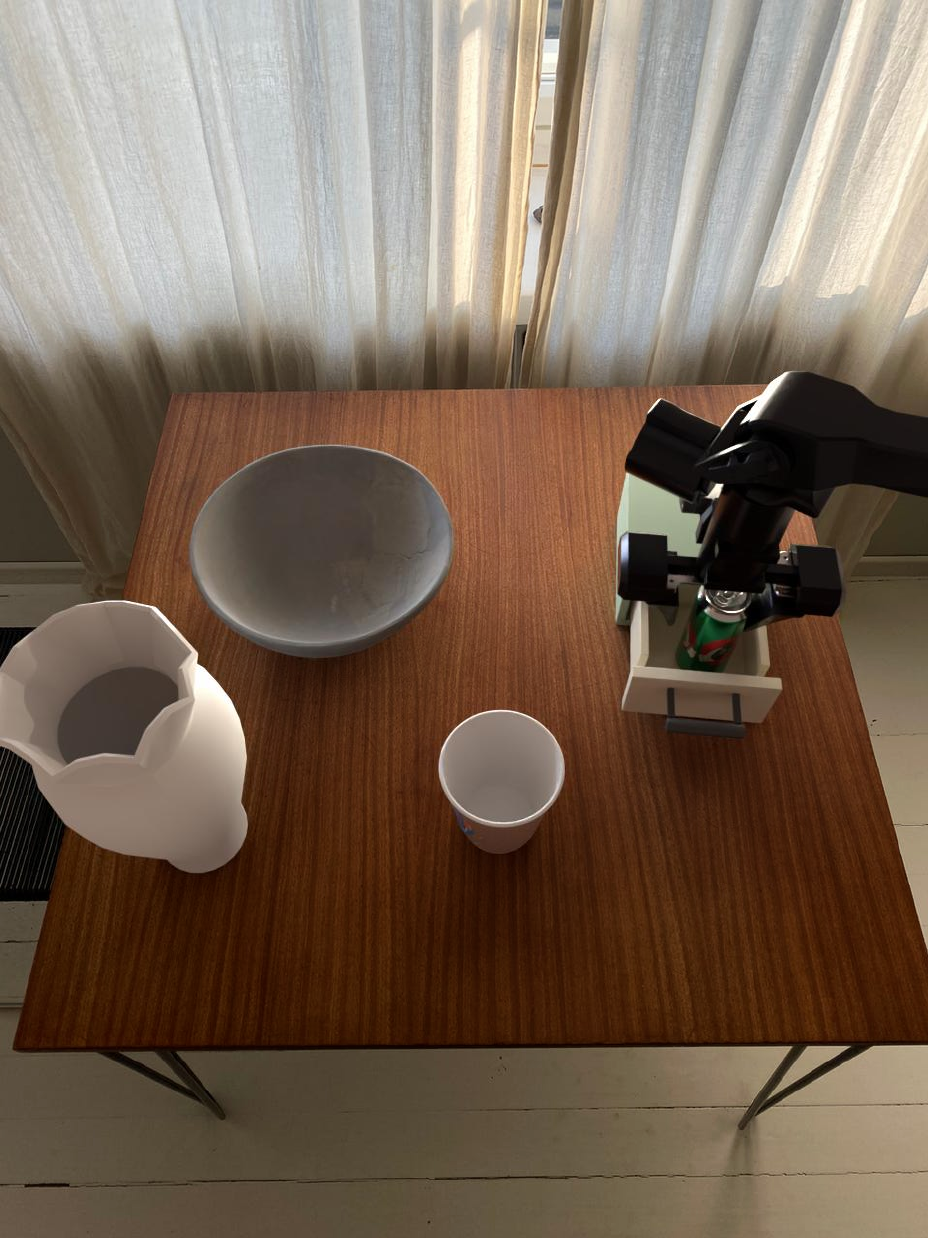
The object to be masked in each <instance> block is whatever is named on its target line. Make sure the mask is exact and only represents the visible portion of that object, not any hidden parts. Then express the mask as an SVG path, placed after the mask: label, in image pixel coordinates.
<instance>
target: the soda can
mask: <svg viewBox="0 0 928 1238" xmlns="http://www.w3.org/2000/svg"><path fill="white" fill-rule="evenodd" d="M753 608H754V601H753V595H752V593H743V592H730V591H718V590H705V589H704V586H701V587H700V588H699V590H698V593H697V595H696V598H695V601H694V603H693V606H692V609H691V611H690V614H689V617H688V620H687V622H686V625H685V628H684V630H683V633H682V636H681V638H680V641H679V644H678V646H677V649H676V653H675V658H676V662H677V664H678V666H679V668H680V669H681V670H688V671H700V672H712V673H723V671H724V670H725V668H726V666H727V663H728V661H729V659H730V657H731V655H732V653H733V651H734V649H735V647H736V645H737V643H738V640H739V638H740V636H741V634H742V632H743V630H744V628H745V626H746V624H747V622H748V620H749V617H750V615H751V613H752V611H753Z"/></svg>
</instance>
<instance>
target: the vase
mask: <svg viewBox="0 0 928 1238" xmlns="http://www.w3.org/2000/svg"><path fill="white" fill-rule="evenodd" d="M198 658H199V653H198V651H197V650H196V649H195V648H194V646H193V645H191V644H190V643H189V641H188V640H187V639H186V638H185V637H184V636H183V635H182V633H181V632H180V631H179V630H178V629H177V628H176V627H175V626H174V624H172V623H171V622H170V620H169V619H168V618H167V617H166V616H165V615H164V614H163V613H162V612H161V611H160V610H159V609H158V608H157V607H156V606H152V605H147V604H142V603H138V602H133V601H128V600H104V601H96V602H90V603H81V604H76V605H74V606H72V607H70V608H67V609H65V610H62V611H59V612H57V613H55V614H52V615H51V616H50V617H49V618H47V619H46V620H45V621H44V622H42V623H41V624H40V625H38V626H37V627H36V628H34V629H33V630H32V631H31V632H29V633H28V634H27V635H26V636H25V637H23V638H22V639H21V640H19V641H18V642H17V643H16V644H15V645H13V646H12V648H11V649H10V651H9V653H8V655H7V656H6V657H5V659H4V661H3V663H2V664H1V666H0V747H2V748H5V749H7V750H9V751H11V752H13V753H14V754H16V755H17V756H18V757H20V758H22V759H23V760H24V761H26V762H27V763H28V764H30V765H31V768H32V771H33V775H34V778H35V781H36V784H37V785H36V786H37V788H38V789H39V791H40V792H41V793H42V795H43V796H44V798H45V799H46V800H47V802H48V803H49V804H50V806H51V807H52V809H53V810H54V812H56V814H57V816H58V817H59V818H60V820H61V821H62V822H63V824H64V825H65V826H66V827H67V828H70V829H71V830H72V831H74V832H75V833H77V834H78V835H80V836H81V837H82V838H83V839H85V840H88V841H89V842H91V843H93V844H94V845H96V846H98V847H100V848H102V849H105V850H108V851H111V852H114V853H115V852H116V853H118V854H122V855H125V856H133V857H140V858H141V857H142V858H148V859H149V858H150V859H156V860H157V859H158V860H167V862H169V864H170V865H172V866H173V867H175V868H176V869H178V870H180V871H182V872H186V873H190V874H204V873H208V872H211V871H215V870H217V869H218V868H221V867H223V866H225V865H226V864H227V863H228V862H229V861H231V860H232V859H234V858H235V856H236V855H237V853H238V852H239V851H240V850H241V848H242V847H243V844H244V842H245V839H246V838H247V833H248V826H249V822H248V815H247V812H246V810H245V808H244V805H243V803H242V800H243V799H242V798H243V790H244V783H245V775H246V768H247V760H248V756H247V748H246V747H247V746H246V739H245V735H244V734H245V733H244V730H243V727H242V723H241V719H240V716H239V714H238V713H237V711H236V708H235V705H234V704H233V701H232V700H231V698H230V697H229V695H228V694H227V693H226V692H225V690H224V689H223V688H222V686H221V685H220V684H219V683H218V681H217V680H216V679H215V678H214V677H213V676H212V675H211V674H210V673H209V672H208V671H207V670H206V668H205V667H203V666H201V664H198Z"/></svg>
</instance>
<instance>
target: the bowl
mask: <svg viewBox="0 0 928 1238" xmlns="http://www.w3.org/2000/svg"><path fill="white" fill-rule="evenodd" d="M454 541H455V540H454V526H453V521H452V518H451V514H450V512H449V510H448V508H447V505H446V504H445V502H444V500H443V498H442V496H441V494H440V493H439V492H438V490H437V488H436V487H435V486H434V484H433V483H432V482H431V480H429V479H428V478H427V476H426V475H425V474H423V473H422V471H420V470H419V469H417V467H415V466H414V465H412V464H410V463H407V462H406V461H404V460H402V459H400V458H398V457H396V456H394V455H391V454H389V453H387V452H383V451H381V450H378V449H372V448H369V447H368V448H367V447H362V446H355V445H346V444H345V445H344V444H319V445H318V444H316V445H306V446H298V447H293V448H287V449H283V450H279V451H276V452H272V453H271V454H268V455H265V456H263V457H260V458H258V459H256V460H254V461H252V462H250V463H249V464H247V465H246V466H244V467H243V468H241V469H240V470H238V471H236V472H235V473H234V474H232V475H231V476H229V477H228V478H227V479H226V480H225V481H223V483H221V485H219V486H218V487H217V488H216V489H215V490H214V491H213V493H212V494H211V495H210V496H209V498H208V499H207V500H206V501H205V503H204V505H203V506H202V508H201V510H200V511H199V514H198V515H197V517H196V520H195V522H194V525H193V528H192V532H191V537H190V543H189V563H190V564H189V565H190V571H191V575H192V578H193V581H194V584H195V586H196V589H197V591H198V593H199V595H200V597H201V599H203V602H204V603H205V605H206V606H207V607H208V608H209V610H210V611H211V612H212V613H213V614H214V615H215V616H216V617H217V618H218V619H219V620H220V621H221V622H222V623H223V624H224V625H226V626H227V627H229V628H230V629H231V630H232V631H234V632H235V633H236V634H238V635H240V636H242V637H243V638H245V639H247V640H248V641H250V642H252V643H253V644H256V645H258V646H261V647H263V648H265V649H267V650H270V651H274V652H277V653H280V654H284V655H288V656H293V657H300V658H305V659H306V658H307V659H308V658H309V659H328V658H337V657H343V656H348V655H351V654H355V653H359V652H361V651H364V650H367V649H369V648H372V647H374V646H375V645H377V644H379V643H381V642H384V641H385V640H386V639H388V638H390V637H391V636H393V635H394V634H396V633H397V632H399V631H400V630H402V629H403V628H404V627H405V626H407V625H408V624H410V623H411V622H412V621H413V620H414V619H416V617H417V616H419V615H420V614H421V613H422V612H423V611H424V610H425V609H426V608H427V607H428V606H429V605H430V604H431V602H432V601H433V600H434V599H435V597H436V596H437V595H438V593H439V592H440V590H441V588H442V587H443V585H444V583H445V581H446V579H447V577H448V575H449V572H450V569H451V566H452V561H453V555H454V544H455V542H454Z"/></svg>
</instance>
